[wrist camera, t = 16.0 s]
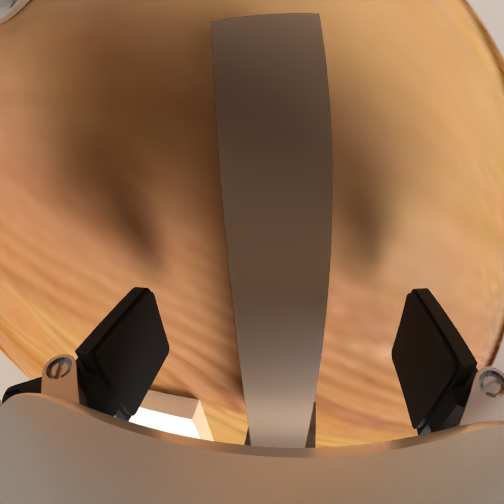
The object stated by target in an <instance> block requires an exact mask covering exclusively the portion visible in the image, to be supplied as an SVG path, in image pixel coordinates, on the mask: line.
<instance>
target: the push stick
mask: <svg viewBox="0 0 504 504" xmlns="http://www.w3.org/2000/svg"><path fill="white" fill-rule="evenodd" d="M212 48H213V70H214V89H215V106H216V122H217V137H218V151H219V164H220V177H221V189H222V201H223V212H224V223H225V234H226V244H227V254H228V264H229V274H230V284H231V293H232V302H233V311H234V319H235V328H236V336H237V345H238V353H239V361H240V368H241V376H242V384H243V391H244V398H245V406H246V413H247V420H248V431H247V436H246V440H245V445H249V446H261V447H279V448H315V429H316V408H315V403H314V399H315V393H316V387H317V380H318V374H319V367H320V360H321V353H322V345H323V337H324V328H325V319H326V309H327V298H328V285H329V272H330V255H331V233H332V140H331V119H330V103H329V90H328V79H327V68H326V59H325V51H324V43H323V36H322V29H321V22H320V16H319V14H314V13H287V14H267V15H255V16H245V17H237V18H230V19H224V20H218V21H212Z"/></svg>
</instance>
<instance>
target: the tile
mask: <svg viewBox="0 0 504 504" xmlns="http://www.w3.org/2000/svg"><path fill="white" fill-rule="evenodd" d="M129 422H132V423H135V424H139V425H142V426H146V427H149V428H153V429H157V430H161V431H165V432H169V433H173V434H178V435H183V436H187V437H193V438H198V439H203V440H209V441H214V440H213V437H212V434H211V432H210V429H209V426H208V423H207V420H206V418H205V415H204V412H203V409H202V406H201V403H200V400H199V399H193V398H187V397H181V396H176V395H171V394H166V393H161V392H157V391H153V390H148V392H147V394H146V396H145V397H144V399H143V401H142V403H141V405H140V407H139V409H138V411H137V413H136V414H135V415H134V416H131V418H130V420H129Z"/></svg>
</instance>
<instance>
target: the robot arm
mask: <svg viewBox="0 0 504 504" xmlns="http://www.w3.org/2000/svg"><path fill="white" fill-rule="evenodd" d="M29 1H30V0H0V23H3V22H6V21H7V20H9V19H10V18H11V17H13V16H14V15H15V14H16V13H18V12H19V11H20V10H21V9H22V8H23V7H24V6H25V5H26V4H27V3H28V2H29ZM75 352H76V354H77V356H78V358H77V360H75V359H74V358H73V356H70V355H66V354H63V355H58V356H56V357H54V358H52V359H50V360H49V361H48V362H47V363H46V365H45V366H44V368H43V372H42V377H39V378H36V379H33V380H30V381H27V382H24V383H20V384H17V385H14V386H11V387H9V388H8V389H7V390H6V392H5V394H4V396H3V399H2V402H1V400H0V504H504V373H503V372H502V371H500V370H498V369H497V368H493V367H484V368H482V369H480V370H479V371H478V370H477V368H476V365H477V361H476V360H475V358H474V356H473V355H472V353H471V351H470V350H469V348H468V346H467V345H466V343H465V342H464V340H463V338H462V337H461V335H460V334H459V332H458V331H457V329H456V328H455V326H454V325H453V323H452V322H451V320H450V319H449V317H448V316H447V314H446V313H445V311H444V310H443V308H442V307H441V306H440V304H439V303H438V301H437V300H436V299H435V297H434V296H433V295H432V293H431V292H430V291H429V289H427V288H423V289H413V290H412V291H411V293H409V294H408V295H407V297H406V301H405V306H404V310H403V314H402V317H401V321H400V325H399V328H398V332H397V335H396V339H395V342H394V345H393V348H392V360H393V363H394V366H395V369H396V372H397V375H398V378H399V381H400V384H401V388H402V391H403V394H404V398H405V401H406V405H407V408H408V412H409V416H410V419H411V423H412V426H413V428H414V429H416V428H417V432H418V436H414V437H409V438H404V439H398V440H392V441H386V442H379V443H372V444H364V445H354V446H342V447H324V448H279V447H261V446H249V445H239V444H230V443H223V442H216V441H209V440H203V439H198V438H193V437H187V436H183V435H178V434H173V433H169V432H165V431H161V430H157V429H153V428H149V427H146V426H142V425H139V424H135V423H132V422H129V420H130V418H131V416H134V415H135V414H136V413H137V411H138V409H139V407H140V405H141V403H142V401H143V399H144V397H145V396H146V394H147V392H148V390H149V388H150V386H151V384H152V383H153V381H154V379H155V377H156V375H157V373H158V372H159V370H160V368H161V366H162V364H163V362H164V361H165V359H166V357H167V355H168V353H169V344H168V341H167V337H166V334H165V331H164V328H163V324H162V321H161V317H160V314H159V310H158V307H157V303H156V299H155V296H154V294H153V292H151V291H150V290H149V289H148V288H140V287H134V288H133V289H132V290H131V291H130V292H129V293H128V294H127V295H126V296H125V297H124V298H123V299H122V300H121V301H120V302H119V303H118V304H117V305H116V307H115V308H114V309H113V310H112V311H111V312H110V313H109V314H108V315H107V316H106V317H105V318H104V319H103V320H102V322H101V323H100V324H99V325H98V326H97V327H96V328H95V329H94V330H93V331H92V333H91V334H90V335H89V336H88V337H87V338H86V339H85V340H84V342H83V343H82V344H81V345H80V346H79V347H78V348H77V350H76V351H75Z"/></svg>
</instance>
